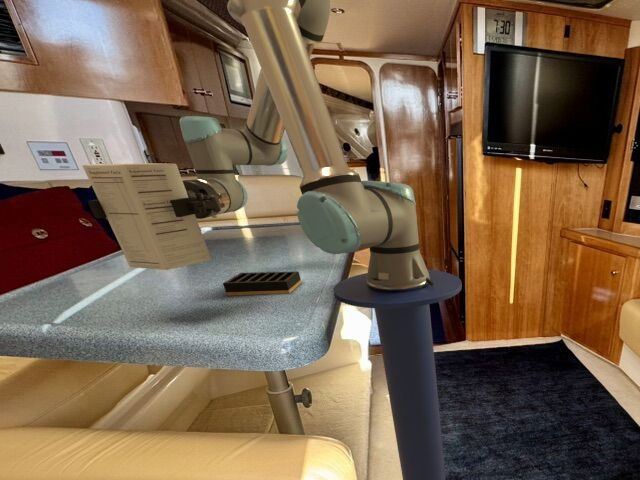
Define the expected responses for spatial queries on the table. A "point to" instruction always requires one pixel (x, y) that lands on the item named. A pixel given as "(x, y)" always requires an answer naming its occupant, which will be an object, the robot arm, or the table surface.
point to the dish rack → (262, 283)
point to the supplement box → (148, 214)
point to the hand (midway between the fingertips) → (135, 209)
